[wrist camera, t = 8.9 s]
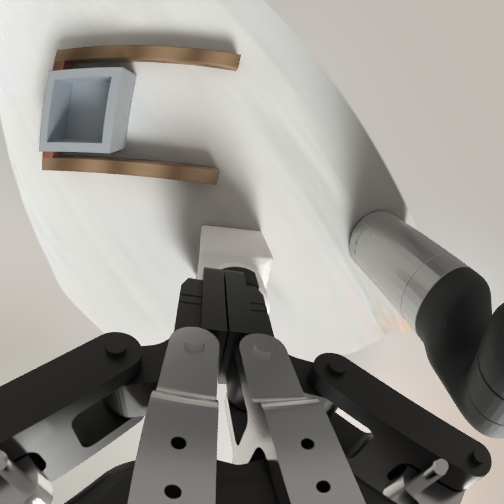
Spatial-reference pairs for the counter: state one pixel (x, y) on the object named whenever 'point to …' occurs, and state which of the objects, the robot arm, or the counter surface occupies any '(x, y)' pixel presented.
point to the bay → (138, 166)
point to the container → (236, 255)
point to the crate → (86, 110)
